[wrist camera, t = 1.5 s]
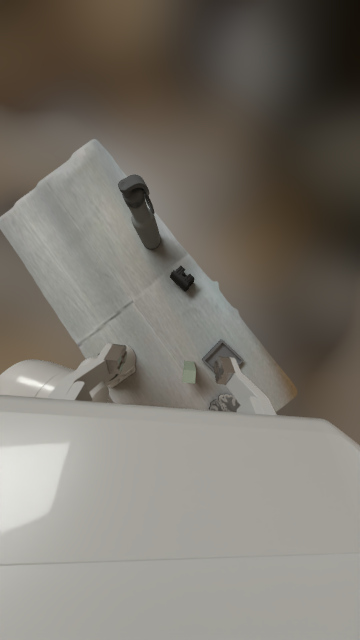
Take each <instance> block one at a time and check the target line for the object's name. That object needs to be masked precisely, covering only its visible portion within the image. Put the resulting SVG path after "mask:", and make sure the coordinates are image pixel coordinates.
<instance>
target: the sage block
mask: <svg viewBox="0 0 360 640" xmlns="http://www.w3.org/2000/svg"><path fill="white" fill-rule="evenodd" d="M195 377H196V368H195V363H194V362H190V361H184V368H183V380H182V382H185V383H193V384H195Z"/></svg>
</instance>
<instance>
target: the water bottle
mask: <svg viewBox="0 0 360 640" xmlns="http://www.w3.org/2000/svg"><path fill="white" fill-rule="evenodd" d="M118 187H119V189H120V191H121V192H122V195H123V198H124V200H125V202H126V204H127V206H128V207H129V209H130V211H131V213H132V223H133V226H134V228H135V229H136V231H137V233H138V235H139V237H140V239H141V241H142V243H143V244H144V246H145V247H147V248H149V249H154V248H156V247H157V246H158V245H159V244H160V241H161V238H160V234H159V231H158V227H157V224H156V220H155V217H154V209H153V206H152V203H151V201H150V199H149V196H148V195H149V190H148V188H147V186H146V184H145V182H144V180H143V179H142V178H141V177H140V176H138V175H130V176H128V177H127V178H125V179H123V180H121V181H120V182H119V183H118ZM145 199H146V202H147V204H148V206H149V208H150V209H149V208H147V205H146V202H145ZM148 201H149V202H148ZM149 203H150V204H149Z"/></svg>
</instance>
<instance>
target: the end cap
mask: <svg viewBox="0 0 360 640" xmlns="http://www.w3.org/2000/svg"><path fill="white" fill-rule="evenodd" d="M184 271H185V269H184V268H183V267H182V266H180V267H179V268H178V269H177V270H176V271H173V272H172V273H171V275H170V278H171V279H172V280H173V281H174V282H175V283H176V284H177V285H179V286H180V287H181V288H182V289H183V290H184V291H186V290H188V289H189V287H190V286H191V285H192V284H193V282H194V277H193V276H192V275H191V274H189V275H188V276H187V275H186V274H185V273H184Z"/></svg>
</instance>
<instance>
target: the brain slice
mask: <svg viewBox="0 0 360 640" xmlns="http://www.w3.org/2000/svg"><path fill="white" fill-rule="evenodd" d="M240 406H241V405H240V404H239V402H238V401H237V400H236V398H235V397H234V396H233V395H229V394H224V395H223V394H221V395H219V397H218V400H216V399H215V400H213V401H212V402H211V403H210V407H209V410H212V411H226V412H237V411H236V410H237V408H239V407H240Z"/></svg>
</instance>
